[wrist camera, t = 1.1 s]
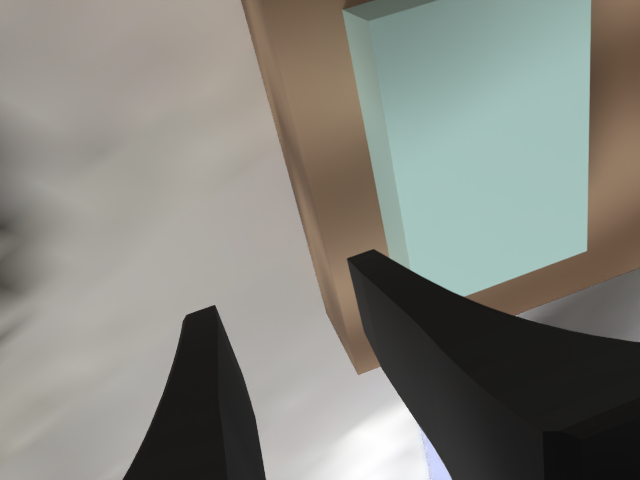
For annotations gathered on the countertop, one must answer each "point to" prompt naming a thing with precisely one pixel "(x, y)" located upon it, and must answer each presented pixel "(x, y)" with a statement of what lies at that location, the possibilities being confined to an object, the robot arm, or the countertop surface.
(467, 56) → the pale teal block
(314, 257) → the deck
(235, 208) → the countertop surface
